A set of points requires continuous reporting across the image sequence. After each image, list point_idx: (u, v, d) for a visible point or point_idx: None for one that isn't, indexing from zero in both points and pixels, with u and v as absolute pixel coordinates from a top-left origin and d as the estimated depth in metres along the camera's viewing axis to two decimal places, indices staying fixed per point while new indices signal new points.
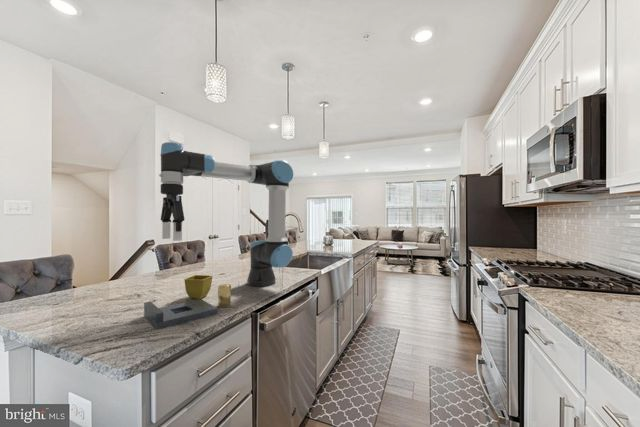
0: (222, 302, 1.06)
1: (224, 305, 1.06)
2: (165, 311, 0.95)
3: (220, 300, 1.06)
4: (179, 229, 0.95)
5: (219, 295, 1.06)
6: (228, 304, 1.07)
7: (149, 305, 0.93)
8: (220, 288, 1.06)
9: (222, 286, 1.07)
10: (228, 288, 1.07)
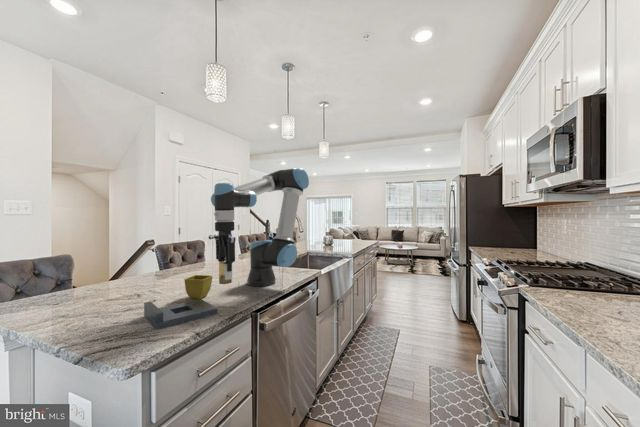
0: (223, 279, 1.06)
1: (225, 282, 1.06)
2: (165, 311, 0.95)
3: (221, 277, 1.06)
4: (230, 269, 1.06)
5: (220, 272, 1.07)
6: (229, 281, 1.07)
7: (149, 305, 0.93)
8: (221, 265, 1.06)
9: (223, 263, 1.07)
10: None
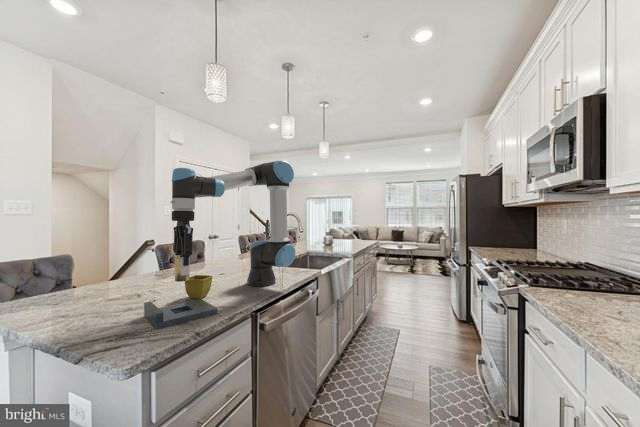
0: (178, 276, 0.95)
1: (181, 279, 0.95)
2: (165, 311, 0.95)
3: (176, 273, 0.95)
4: (187, 263, 0.95)
5: (175, 268, 0.96)
6: (186, 278, 0.96)
7: (149, 305, 0.93)
8: (177, 260, 0.95)
9: (179, 258, 0.97)
10: None
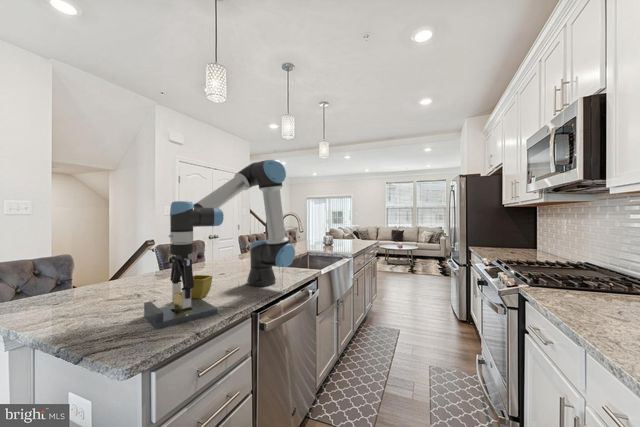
0: (178, 312, 0.95)
1: None
2: (165, 311, 0.95)
3: (175, 309, 0.95)
4: (188, 296, 0.93)
5: (174, 304, 0.95)
6: None
7: (149, 305, 0.93)
8: (175, 296, 0.95)
9: (178, 294, 0.96)
10: None
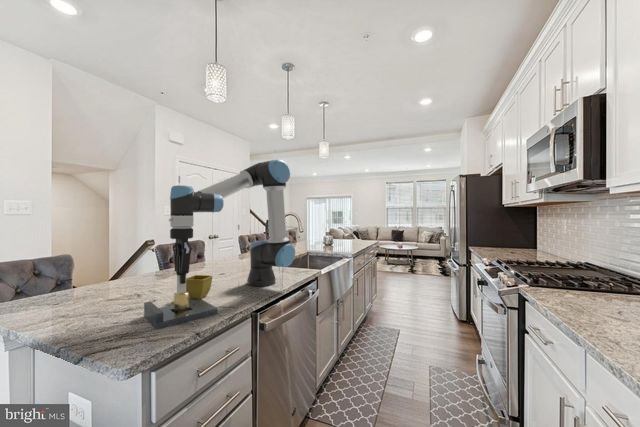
0: (178, 312, 0.95)
1: None
2: (165, 311, 0.95)
3: (175, 309, 0.95)
4: (183, 281, 0.96)
5: (174, 304, 0.95)
6: None
7: (149, 305, 0.93)
8: (175, 296, 0.95)
9: (178, 294, 0.96)
10: (185, 296, 0.96)
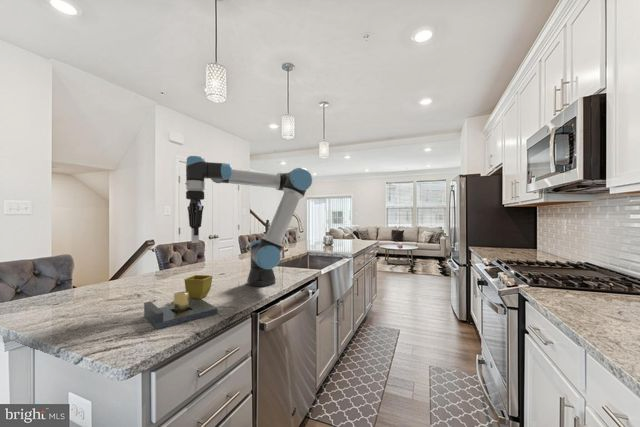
0: (178, 312, 0.95)
1: None
2: (165, 311, 0.95)
3: (175, 309, 0.95)
4: (197, 233, 1.19)
5: (174, 304, 0.95)
6: None
7: (149, 305, 0.93)
8: (175, 296, 0.95)
9: (178, 294, 0.96)
10: (185, 296, 0.96)
